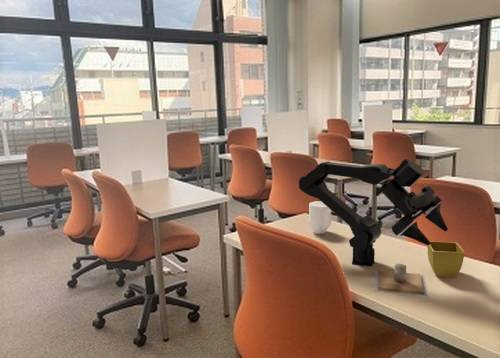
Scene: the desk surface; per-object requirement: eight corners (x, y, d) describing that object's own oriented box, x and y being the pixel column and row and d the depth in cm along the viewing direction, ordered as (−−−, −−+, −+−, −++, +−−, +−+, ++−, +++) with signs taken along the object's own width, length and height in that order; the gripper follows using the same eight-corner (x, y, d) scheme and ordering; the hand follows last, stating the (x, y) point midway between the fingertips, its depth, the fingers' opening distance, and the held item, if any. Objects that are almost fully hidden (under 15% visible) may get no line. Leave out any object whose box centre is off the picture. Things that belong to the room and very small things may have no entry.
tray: (374, 291, 116) (374, 290, 116) (374, 271, 129) (374, 271, 129) (428, 297, 111) (428, 296, 111) (423, 276, 125) (423, 275, 125)
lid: (378, 289, 116) (378, 272, 115) (378, 272, 127) (378, 256, 126) (424, 294, 113) (425, 276, 112) (420, 276, 124) (420, 260, 123)
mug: (304, 230, 171) (305, 202, 169) (322, 228, 175) (323, 200, 173) (320, 238, 161) (321, 208, 158) (338, 235, 164) (340, 206, 162)
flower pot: (463, 281, 120) (465, 252, 119) (431, 279, 122) (433, 250, 121) (454, 269, 129) (456, 242, 127) (425, 267, 131) (426, 240, 129)
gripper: (395, 194, 113) (437, 238, 108) (432, 170, 123) (473, 209, 117) (375, 215, 122) (414, 257, 116) (411, 191, 132) (448, 228, 126)
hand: (438, 237), depth 119 cm, fingers open, 9 cm apart
